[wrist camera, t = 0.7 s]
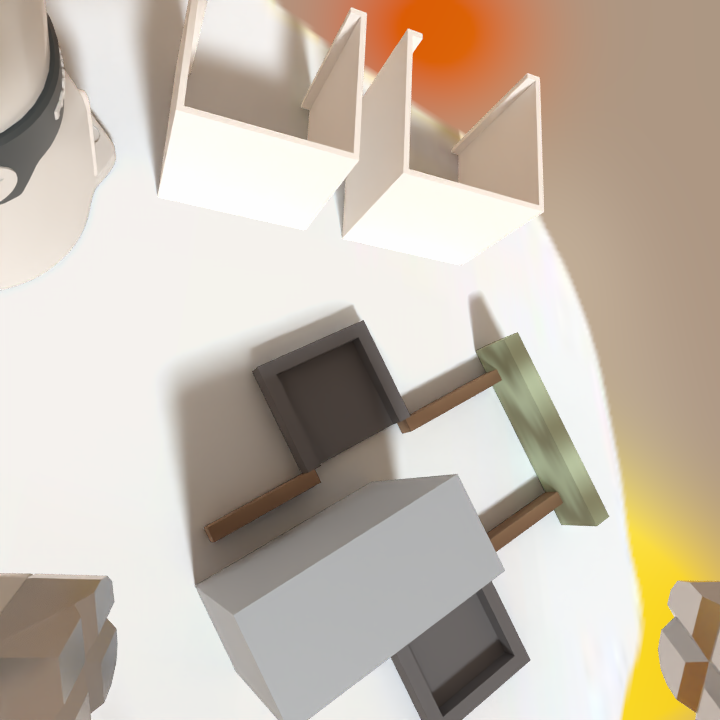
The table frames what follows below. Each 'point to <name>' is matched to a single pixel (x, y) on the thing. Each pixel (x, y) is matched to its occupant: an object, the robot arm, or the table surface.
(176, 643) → the table surface
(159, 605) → the table surface
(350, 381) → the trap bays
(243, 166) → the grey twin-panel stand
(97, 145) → the robot arm
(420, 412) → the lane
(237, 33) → the table surface
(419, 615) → the slate block
